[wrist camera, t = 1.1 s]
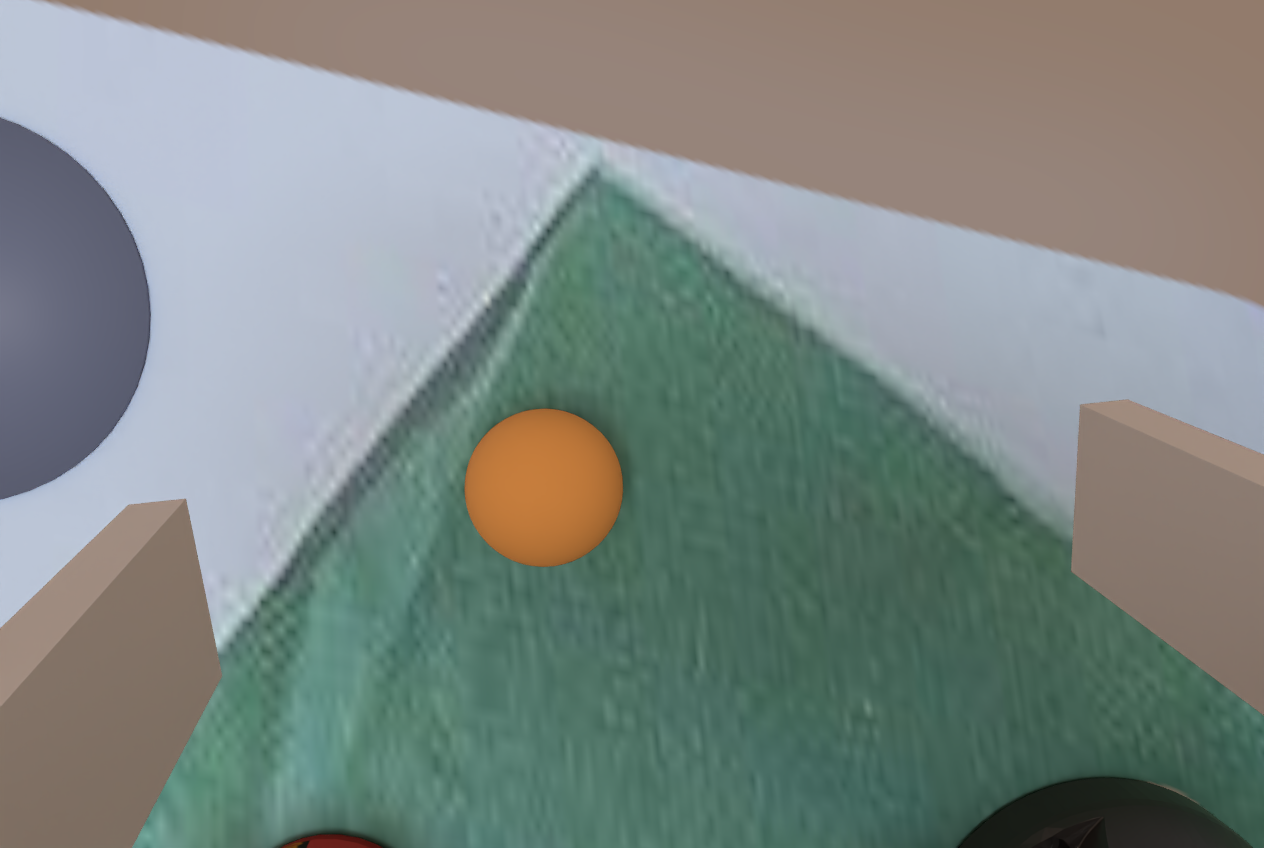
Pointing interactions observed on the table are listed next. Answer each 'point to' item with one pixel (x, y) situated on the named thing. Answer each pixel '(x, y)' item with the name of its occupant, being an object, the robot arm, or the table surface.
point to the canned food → (331, 842)
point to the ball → (543, 487)
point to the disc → (62, 312)
